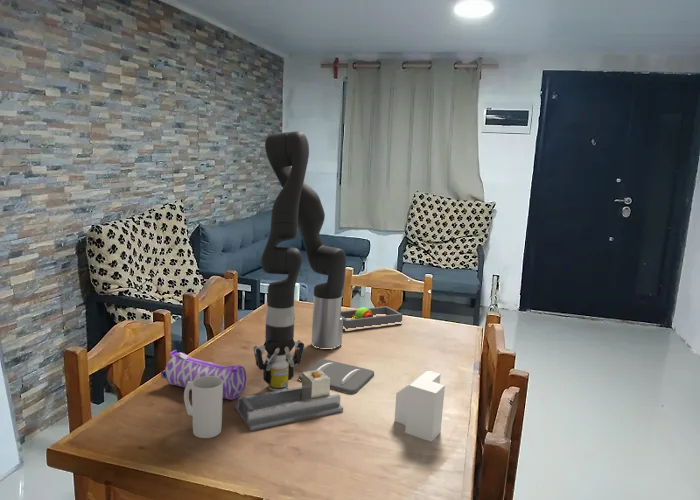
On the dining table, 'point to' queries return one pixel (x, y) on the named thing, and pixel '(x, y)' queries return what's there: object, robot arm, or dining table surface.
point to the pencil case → (204, 373)
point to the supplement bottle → (279, 374)
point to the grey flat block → (342, 375)
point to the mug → (205, 405)
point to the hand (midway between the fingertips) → (278, 380)
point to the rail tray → (290, 403)
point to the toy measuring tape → (362, 313)
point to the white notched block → (421, 406)
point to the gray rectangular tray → (390, 317)
